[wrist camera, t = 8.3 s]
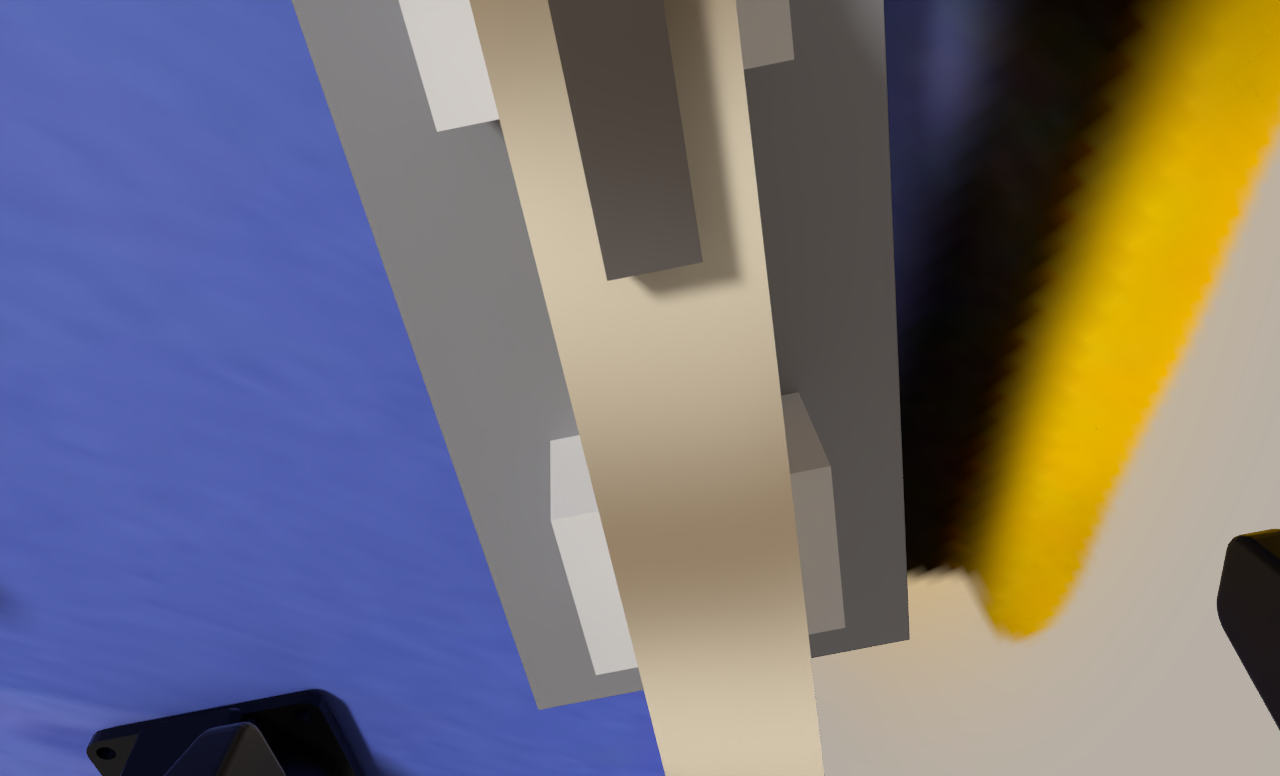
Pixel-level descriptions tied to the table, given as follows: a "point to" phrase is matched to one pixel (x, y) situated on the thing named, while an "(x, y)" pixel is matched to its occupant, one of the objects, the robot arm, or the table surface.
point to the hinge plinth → (524, 340)
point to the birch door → (667, 355)
